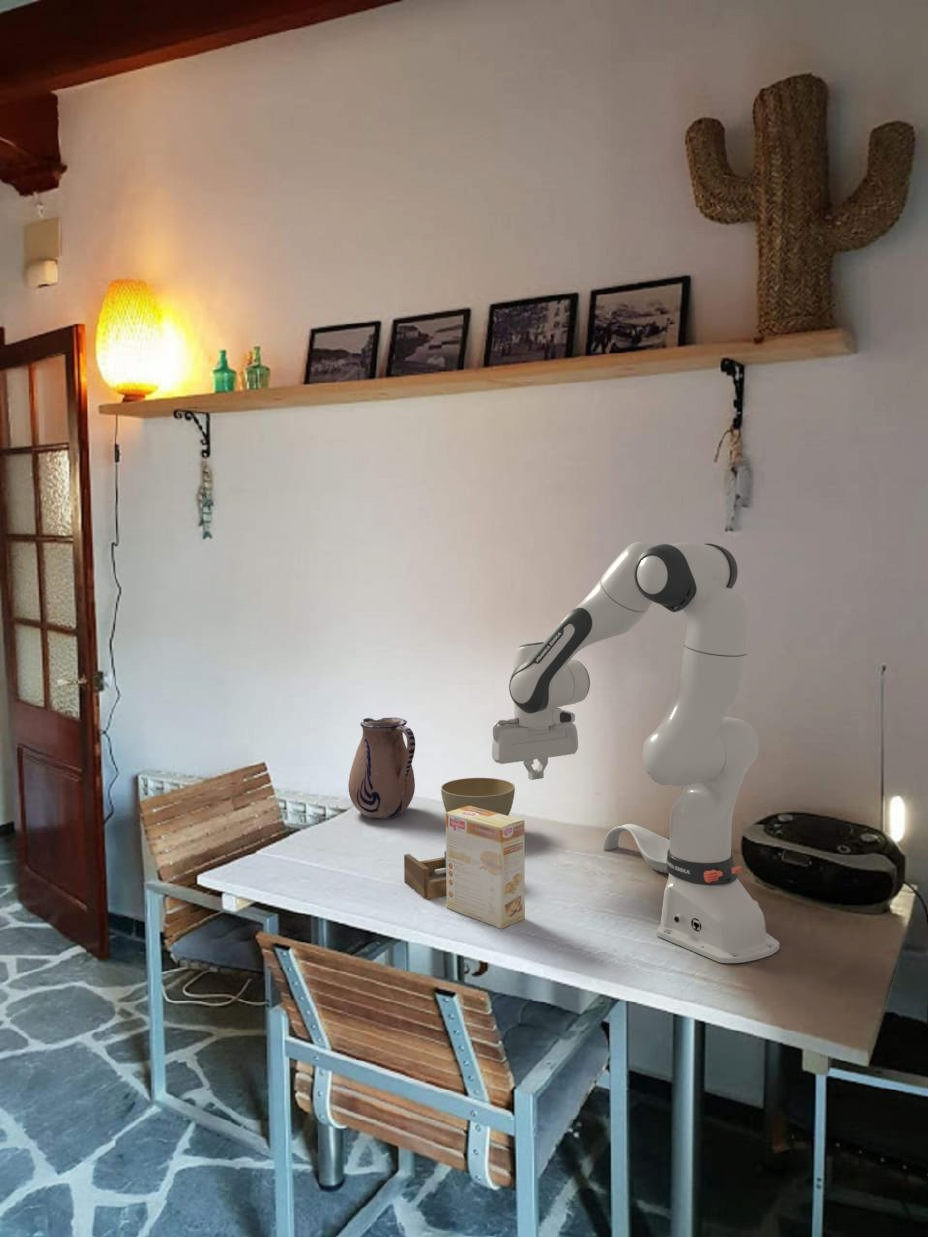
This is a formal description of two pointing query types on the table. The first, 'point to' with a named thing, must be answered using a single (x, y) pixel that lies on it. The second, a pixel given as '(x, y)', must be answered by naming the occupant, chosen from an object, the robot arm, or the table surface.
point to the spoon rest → (642, 844)
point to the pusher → (442, 870)
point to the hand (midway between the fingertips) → (536, 778)
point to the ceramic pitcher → (383, 769)
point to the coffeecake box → (485, 865)
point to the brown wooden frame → (425, 876)
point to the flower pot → (479, 794)
